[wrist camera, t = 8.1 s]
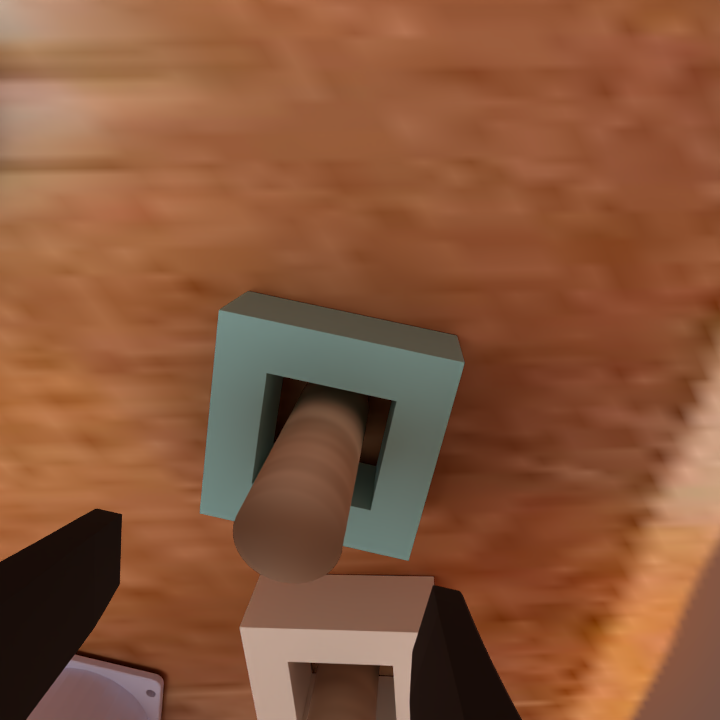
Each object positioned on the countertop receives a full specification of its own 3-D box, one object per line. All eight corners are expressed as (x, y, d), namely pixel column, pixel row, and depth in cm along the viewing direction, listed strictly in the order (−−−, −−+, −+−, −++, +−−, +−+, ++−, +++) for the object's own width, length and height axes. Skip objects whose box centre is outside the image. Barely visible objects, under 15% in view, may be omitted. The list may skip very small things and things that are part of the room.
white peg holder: (437, 704, 25) (440, 771, 22) (281, 697, 26) (265, 760, 23) (433, 576, 22) (436, 633, 19) (260, 573, 23) (239, 627, 20)
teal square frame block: (409, 510, 21) (408, 561, 18) (227, 470, 22) (199, 513, 19) (456, 335, 19) (464, 362, 16) (248, 290, 19) (218, 309, 16)
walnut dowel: (374, 668, 25) (363, 812, 19) (319, 655, 25) (291, 794, 19) (386, 626, 24) (378, 764, 18) (328, 612, 24) (302, 746, 18)
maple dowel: (360, 444, 20) (330, 594, 13) (294, 428, 21) (227, 568, 13) (376, 382, 19) (352, 507, 12) (306, 366, 20) (240, 479, 12)
